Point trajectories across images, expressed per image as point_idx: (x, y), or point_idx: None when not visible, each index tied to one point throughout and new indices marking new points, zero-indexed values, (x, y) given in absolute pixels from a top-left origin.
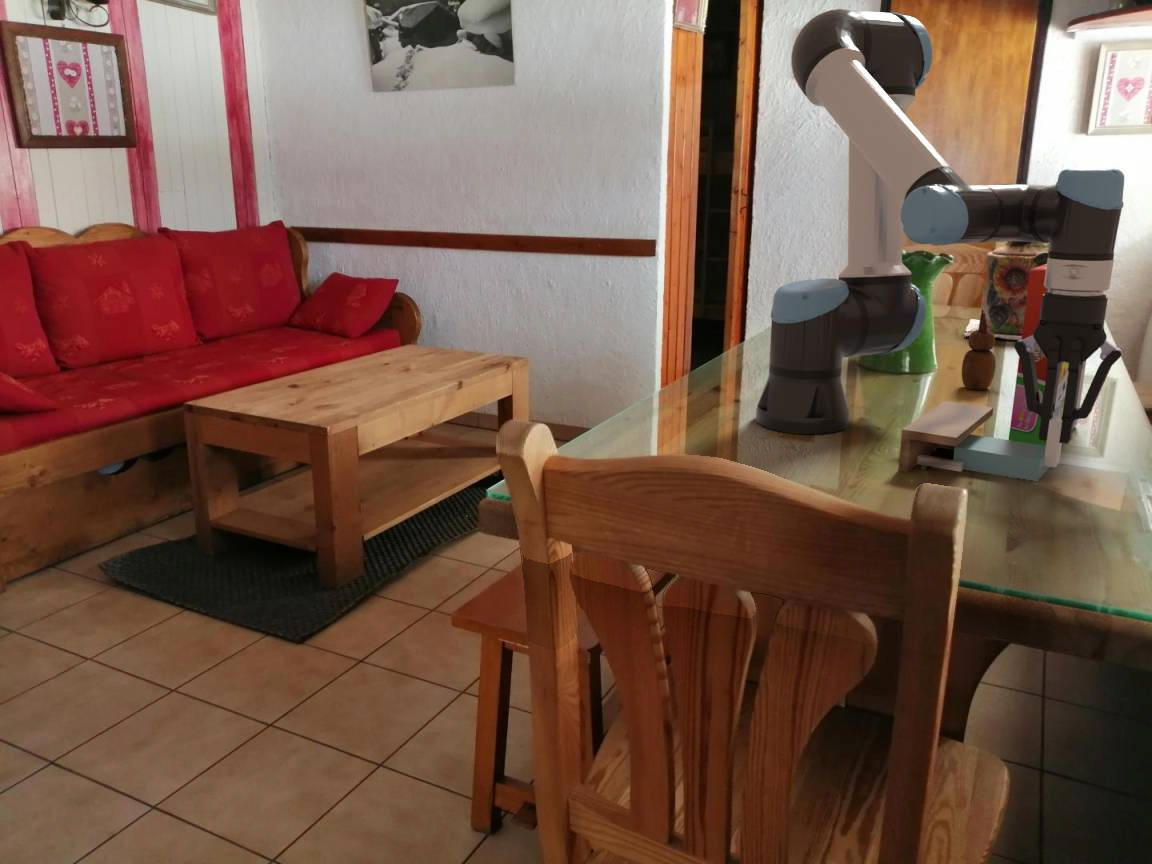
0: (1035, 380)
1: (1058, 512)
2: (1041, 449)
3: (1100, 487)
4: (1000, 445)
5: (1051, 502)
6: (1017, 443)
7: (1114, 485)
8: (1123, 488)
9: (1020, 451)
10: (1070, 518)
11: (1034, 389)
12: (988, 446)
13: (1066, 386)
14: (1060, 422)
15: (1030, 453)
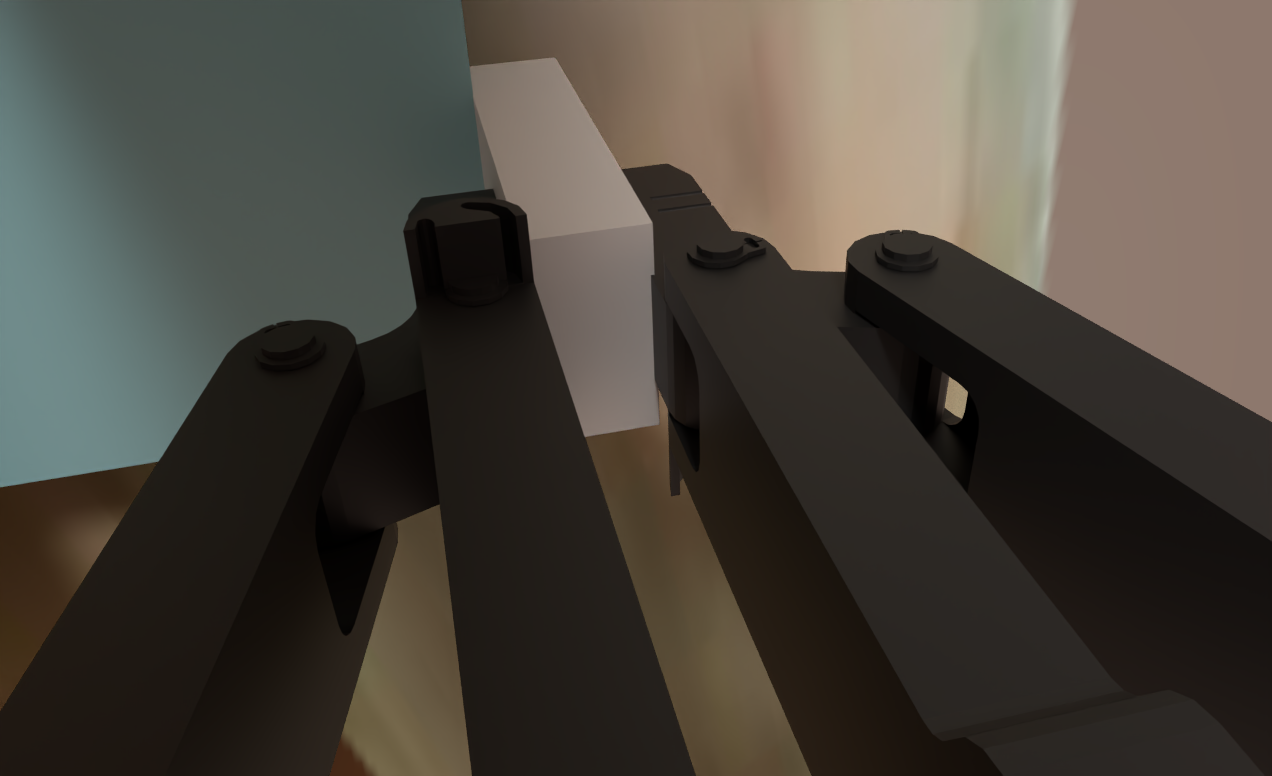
0: (271, 744)
1: (706, 648)
2: (406, 90)
3: (838, 153)
4: (59, 215)
5: (651, 564)
6: (133, 25)
7: (913, 45)
8: (963, 74)
9: (293, 277)
10: (760, 671)
11: (339, 736)
12: (4, 317)
13: (790, 724)
14: (647, 422)
15: (381, 275)
